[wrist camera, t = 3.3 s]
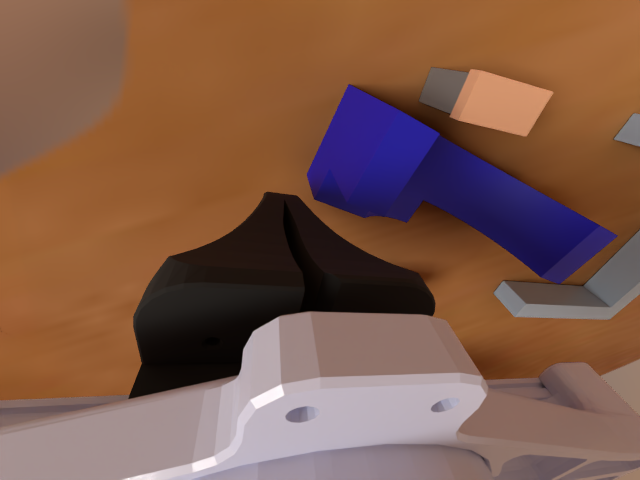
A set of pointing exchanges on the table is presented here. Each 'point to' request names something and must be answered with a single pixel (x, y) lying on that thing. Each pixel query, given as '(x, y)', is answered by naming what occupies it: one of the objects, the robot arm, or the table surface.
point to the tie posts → (485, 99)
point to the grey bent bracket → (598, 293)
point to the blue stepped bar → (443, 186)
